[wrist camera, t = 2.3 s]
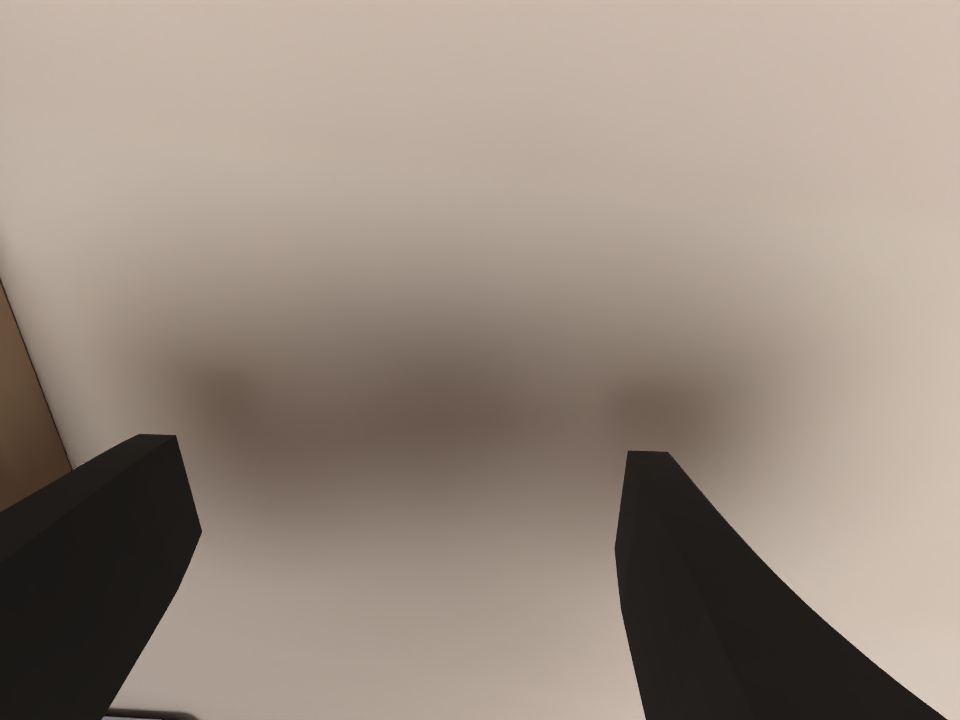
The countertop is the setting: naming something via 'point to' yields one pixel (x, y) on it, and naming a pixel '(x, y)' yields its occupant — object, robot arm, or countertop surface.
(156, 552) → the robot arm
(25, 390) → the trap board
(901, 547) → the countertop surface
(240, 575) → the countertop surface
